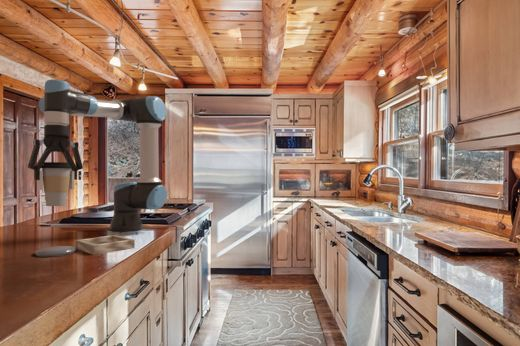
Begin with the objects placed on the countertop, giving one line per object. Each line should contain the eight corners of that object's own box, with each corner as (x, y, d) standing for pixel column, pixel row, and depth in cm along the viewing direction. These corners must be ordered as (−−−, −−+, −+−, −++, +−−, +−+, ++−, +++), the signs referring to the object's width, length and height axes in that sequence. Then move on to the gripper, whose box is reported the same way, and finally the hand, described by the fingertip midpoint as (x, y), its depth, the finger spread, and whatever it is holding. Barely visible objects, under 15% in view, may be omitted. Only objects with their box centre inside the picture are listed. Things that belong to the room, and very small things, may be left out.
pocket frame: (115, 242, 139) (115, 235, 139) (134, 247, 130) (134, 239, 130) (75, 248, 128) (75, 240, 128) (93, 254, 118) (93, 246, 118)
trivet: (67, 247, 129) (67, 244, 129) (81, 252, 121) (81, 249, 121) (30, 253, 120) (30, 249, 120) (42, 258, 112) (42, 255, 112)
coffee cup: (44, 204, 124) (45, 162, 124) (74, 204, 127) (74, 163, 127) (36, 207, 115) (37, 161, 115) (68, 206, 118) (69, 162, 118)
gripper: (84, 129, 132) (84, 188, 132) (16, 122, 115) (15, 190, 115) (93, 127, 127) (93, 188, 127) (23, 120, 110) (22, 190, 110)
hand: (56, 189), depth 121 cm, fingers closed on coffee cup, 9 cm apart
